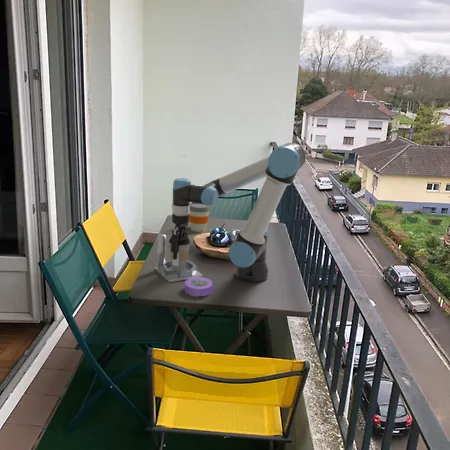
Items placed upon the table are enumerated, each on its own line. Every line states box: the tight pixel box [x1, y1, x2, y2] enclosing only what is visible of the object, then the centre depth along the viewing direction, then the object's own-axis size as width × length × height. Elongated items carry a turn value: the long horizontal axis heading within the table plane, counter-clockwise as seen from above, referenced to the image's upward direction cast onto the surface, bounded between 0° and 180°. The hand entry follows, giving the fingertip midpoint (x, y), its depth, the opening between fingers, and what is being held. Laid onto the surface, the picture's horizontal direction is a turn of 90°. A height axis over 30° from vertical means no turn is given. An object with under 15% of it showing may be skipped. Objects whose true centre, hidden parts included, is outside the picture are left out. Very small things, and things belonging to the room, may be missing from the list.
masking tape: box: [184, 276, 214, 298], centre depth 192 cm, size 12×12×4 cm
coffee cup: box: [168, 235, 191, 271], centre depth 206 cm, size 9×9×15 cm
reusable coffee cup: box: [189, 202, 211, 233], centre depth 271 cm, size 13×13×15 cm
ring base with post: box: [155, 233, 203, 283], centre depth 206 cm, size 16×16×17 cm
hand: (179, 262), depth 207 cm, fingers closed on coffee cup, 8 cm apart
